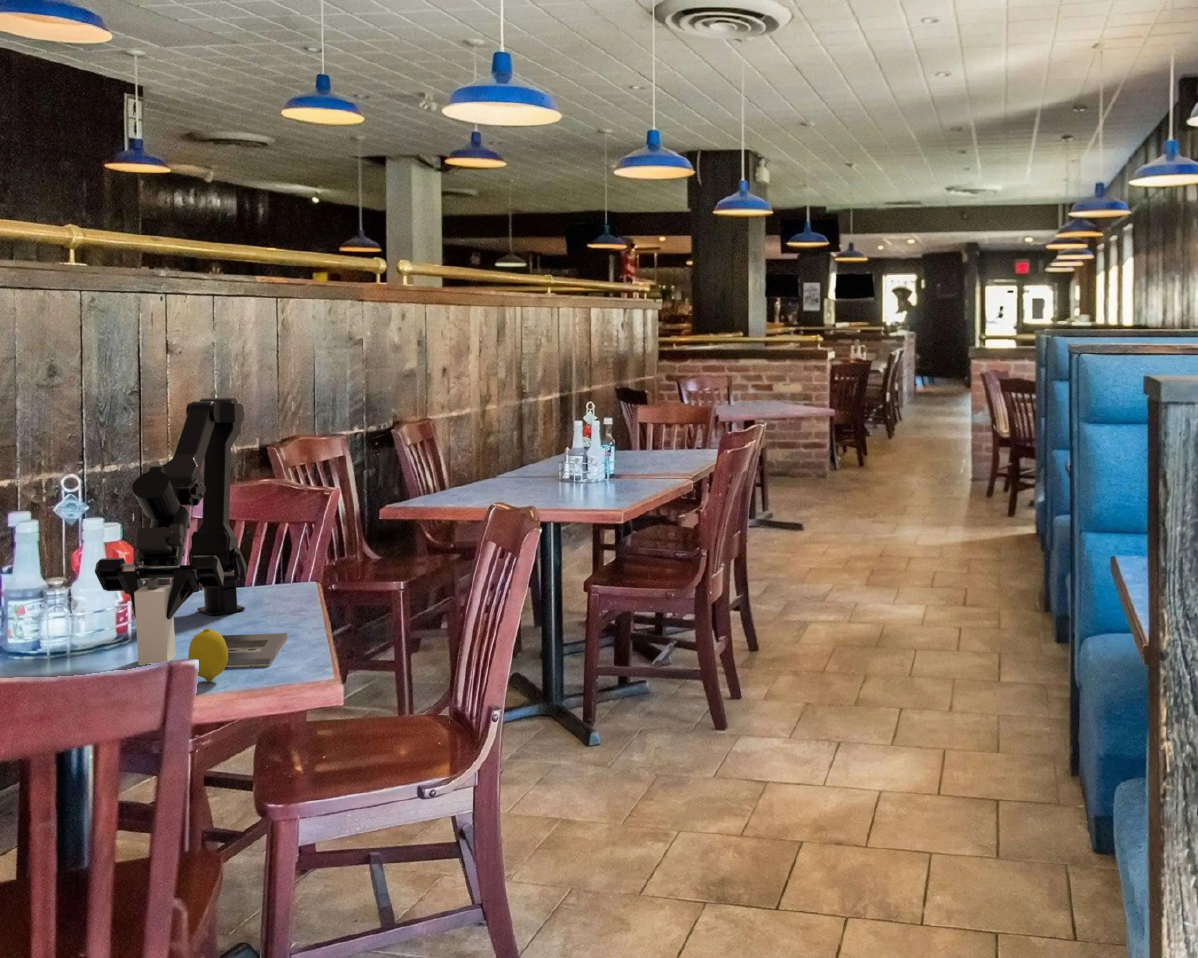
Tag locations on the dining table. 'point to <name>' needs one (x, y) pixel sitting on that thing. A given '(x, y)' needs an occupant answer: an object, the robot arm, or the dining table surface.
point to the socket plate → (253, 649)
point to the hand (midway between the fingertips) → (152, 618)
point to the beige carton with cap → (154, 623)
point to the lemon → (209, 653)
